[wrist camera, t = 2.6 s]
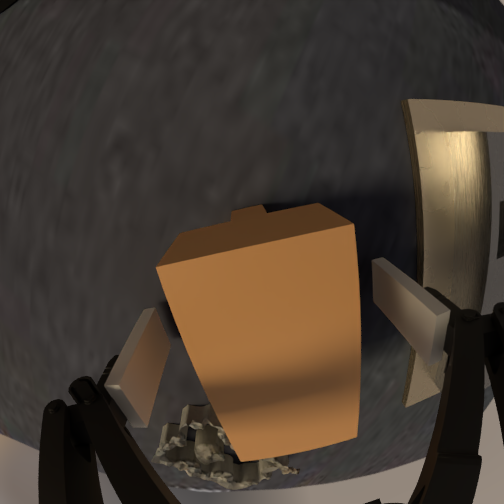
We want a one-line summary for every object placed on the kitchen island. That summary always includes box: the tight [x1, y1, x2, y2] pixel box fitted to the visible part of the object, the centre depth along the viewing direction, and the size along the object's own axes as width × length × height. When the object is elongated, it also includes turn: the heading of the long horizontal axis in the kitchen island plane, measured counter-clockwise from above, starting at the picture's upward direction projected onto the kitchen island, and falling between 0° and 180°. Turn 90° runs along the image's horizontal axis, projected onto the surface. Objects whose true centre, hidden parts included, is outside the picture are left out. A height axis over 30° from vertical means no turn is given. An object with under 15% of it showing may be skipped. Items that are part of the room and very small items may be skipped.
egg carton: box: [151, 404, 300, 490], centre depth 19 cm, size 11×8×4 cm
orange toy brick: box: [156, 203, 361, 462], centre depth 13 cm, size 11×6×7 cm, turn 12°
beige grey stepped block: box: [401, 99, 504, 408], centre depth 15 cm, size 24×10×4 cm, turn 12°
